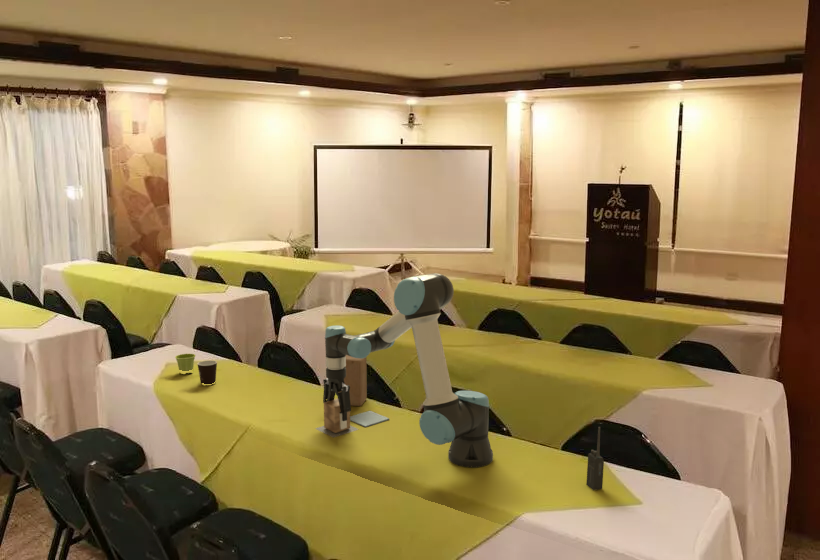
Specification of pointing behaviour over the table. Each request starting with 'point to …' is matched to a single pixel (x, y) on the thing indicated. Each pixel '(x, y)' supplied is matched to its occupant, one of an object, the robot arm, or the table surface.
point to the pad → (368, 418)
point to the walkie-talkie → (595, 467)
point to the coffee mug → (207, 371)
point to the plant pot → (185, 361)
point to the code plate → (337, 432)
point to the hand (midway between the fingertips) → (337, 425)
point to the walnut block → (334, 416)
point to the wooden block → (356, 380)
